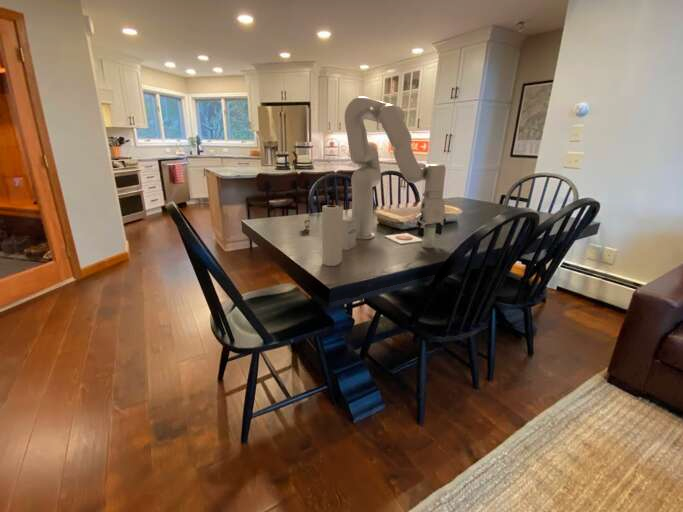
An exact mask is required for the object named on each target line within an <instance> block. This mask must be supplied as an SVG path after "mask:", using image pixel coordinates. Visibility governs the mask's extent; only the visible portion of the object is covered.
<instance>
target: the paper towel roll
mask: <svg viewBox="0 0 683 512" xmlns="http://www.w3.org/2000/svg"><path fill="white" fill-rule="evenodd" d="M321 209H322V213H321V215H322V216H321V217H322V221H321V225H322V231H321V232H322V241H321V242H322V247H321V248H322V249H321V250H322V251H321V252H322V257H321V258H322V265H324V266H328V267H335V266H338V265H339V264H341V262H342V261H343V250H342V238H343V216H344V205H341V206H339V205H336V204H334V205H333V204H327V205H325V204H324V205H322V208H321Z"/></svg>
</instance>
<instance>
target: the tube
mask: <svg viewBox="0 0 683 512" xmlns="http://www.w3.org/2000/svg"><path fill="white" fill-rule="evenodd" d="M436 224H437V223H429V224H428V223H426V224H425V225H424V227H423V228H424V236H423V237H421V239H422V242H421V247H422V248H424V249H433V248H434V244H435V243H434V242H435V236H436V233H435V230H436Z"/></svg>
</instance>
